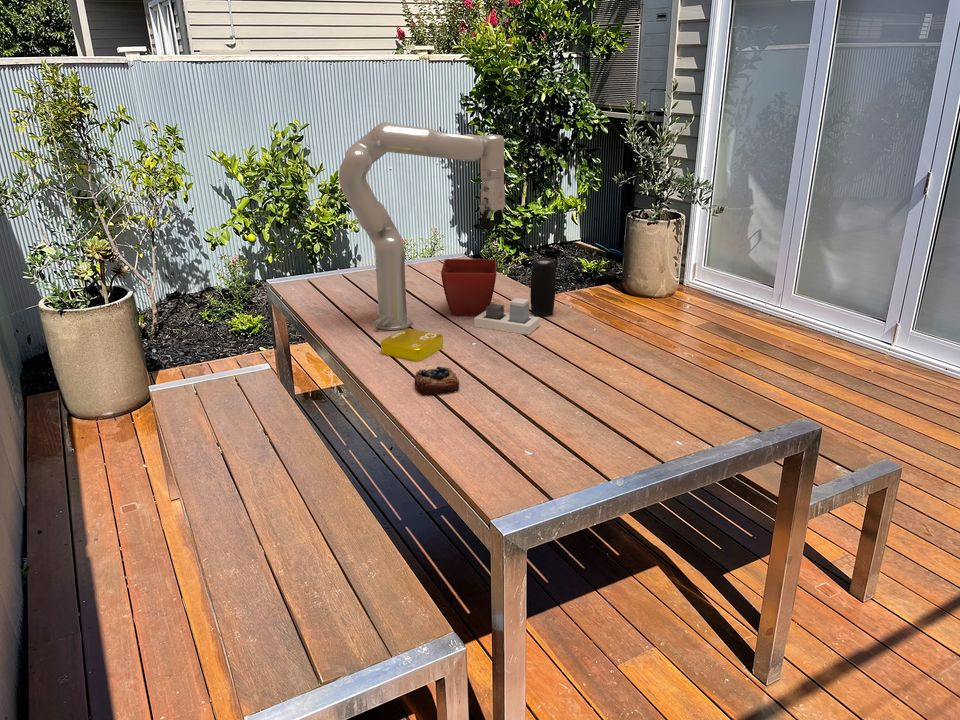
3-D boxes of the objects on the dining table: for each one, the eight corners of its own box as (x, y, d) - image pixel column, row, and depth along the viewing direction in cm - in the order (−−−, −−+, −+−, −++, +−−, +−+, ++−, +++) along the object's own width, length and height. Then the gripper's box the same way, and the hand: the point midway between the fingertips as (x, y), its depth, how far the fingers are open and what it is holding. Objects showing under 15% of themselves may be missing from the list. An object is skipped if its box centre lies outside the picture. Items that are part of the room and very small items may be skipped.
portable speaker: (528, 316, 249) (529, 262, 242) (532, 308, 257) (533, 256, 250) (552, 318, 247) (554, 264, 240) (555, 310, 256) (557, 257, 249)
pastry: (411, 382, 197) (410, 362, 195) (452, 377, 200) (452, 358, 198) (419, 398, 187) (418, 378, 185) (463, 393, 190) (462, 373, 188)
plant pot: (496, 319, 247) (496, 272, 240) (441, 319, 247) (440, 272, 241) (496, 303, 264) (496, 259, 258) (445, 302, 265) (444, 258, 258)
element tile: (406, 339, 229) (406, 325, 227) (445, 347, 222) (445, 333, 220) (378, 354, 217) (377, 340, 215) (419, 363, 210) (418, 348, 208)
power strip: (528, 335, 232) (529, 316, 229) (474, 326, 240) (474, 308, 237) (547, 319, 247) (548, 301, 244) (495, 311, 254) (495, 294, 252)
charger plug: (523, 329, 235) (523, 303, 231) (509, 327, 237) (509, 301, 233) (528, 325, 239) (529, 299, 235) (515, 322, 241) (515, 297, 237)
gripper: (491, 178, 220) (491, 233, 226) (513, 172, 234) (512, 223, 241) (470, 177, 223) (470, 231, 229) (492, 171, 237) (492, 221, 244)
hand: (492, 227), depth 235 cm, fingers open, 9 cm apart
